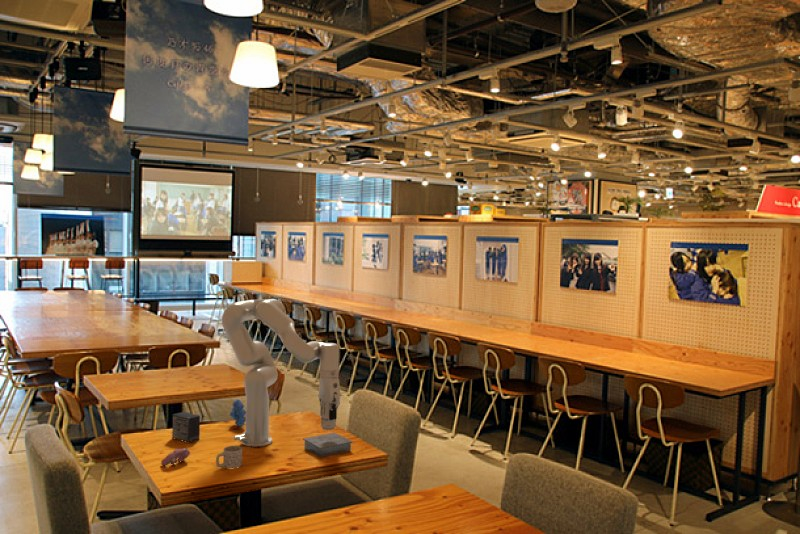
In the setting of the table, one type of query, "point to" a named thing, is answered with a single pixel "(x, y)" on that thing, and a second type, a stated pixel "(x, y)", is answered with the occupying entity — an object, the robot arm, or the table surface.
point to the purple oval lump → (176, 456)
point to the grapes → (238, 413)
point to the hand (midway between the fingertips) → (328, 417)
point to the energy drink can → (326, 415)
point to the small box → (186, 426)
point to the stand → (327, 444)
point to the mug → (230, 457)
